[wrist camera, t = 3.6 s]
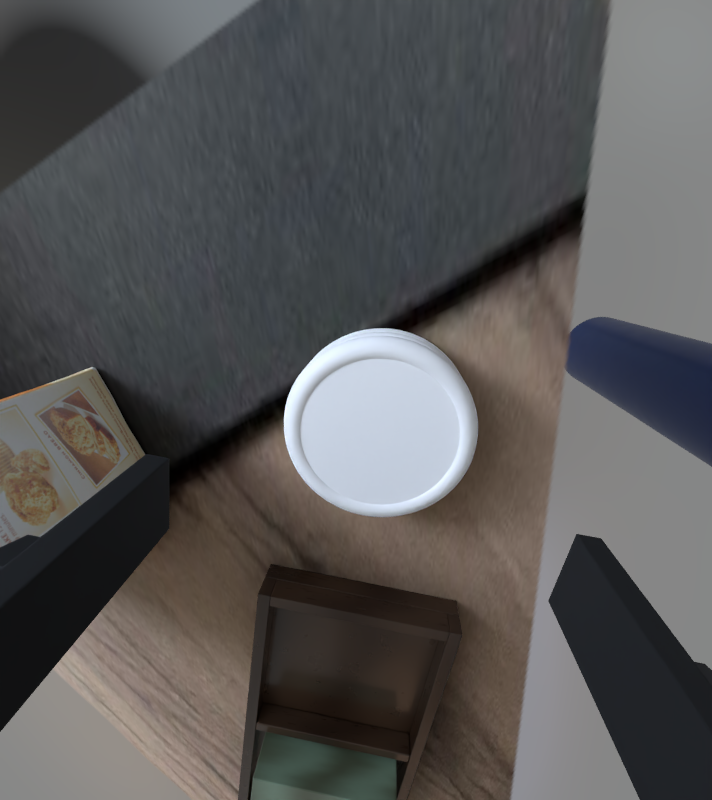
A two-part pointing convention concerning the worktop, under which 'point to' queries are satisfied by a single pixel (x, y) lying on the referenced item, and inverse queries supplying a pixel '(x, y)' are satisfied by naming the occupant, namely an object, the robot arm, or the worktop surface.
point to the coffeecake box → (58, 451)
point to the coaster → (381, 423)
